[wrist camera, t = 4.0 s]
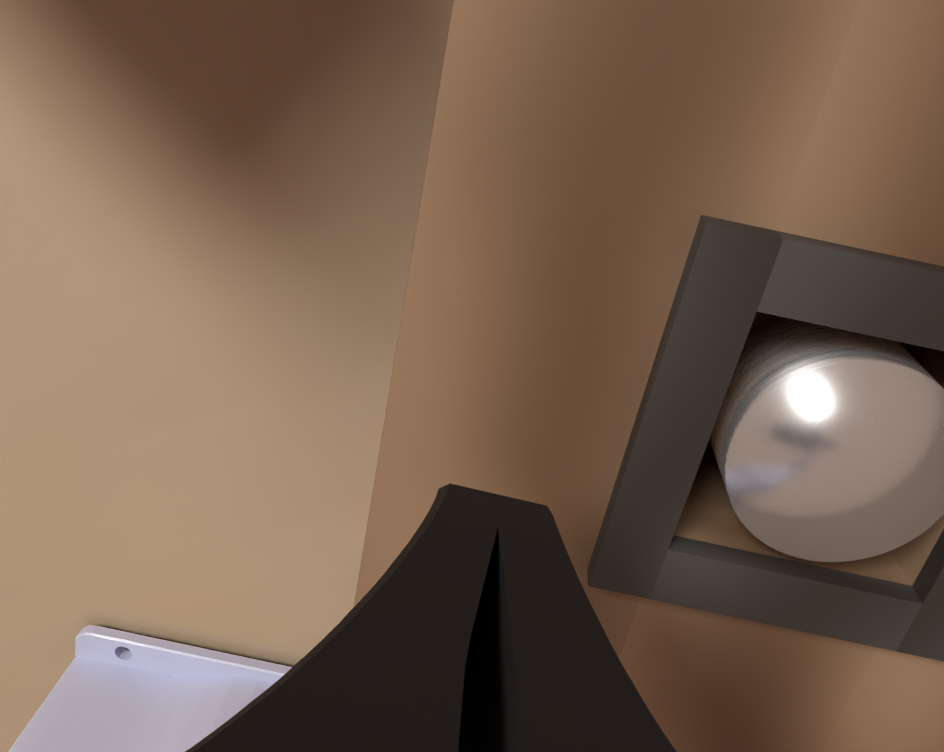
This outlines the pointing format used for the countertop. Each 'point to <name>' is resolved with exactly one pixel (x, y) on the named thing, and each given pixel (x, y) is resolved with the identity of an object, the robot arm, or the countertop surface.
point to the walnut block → (678, 331)
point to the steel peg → (830, 441)
